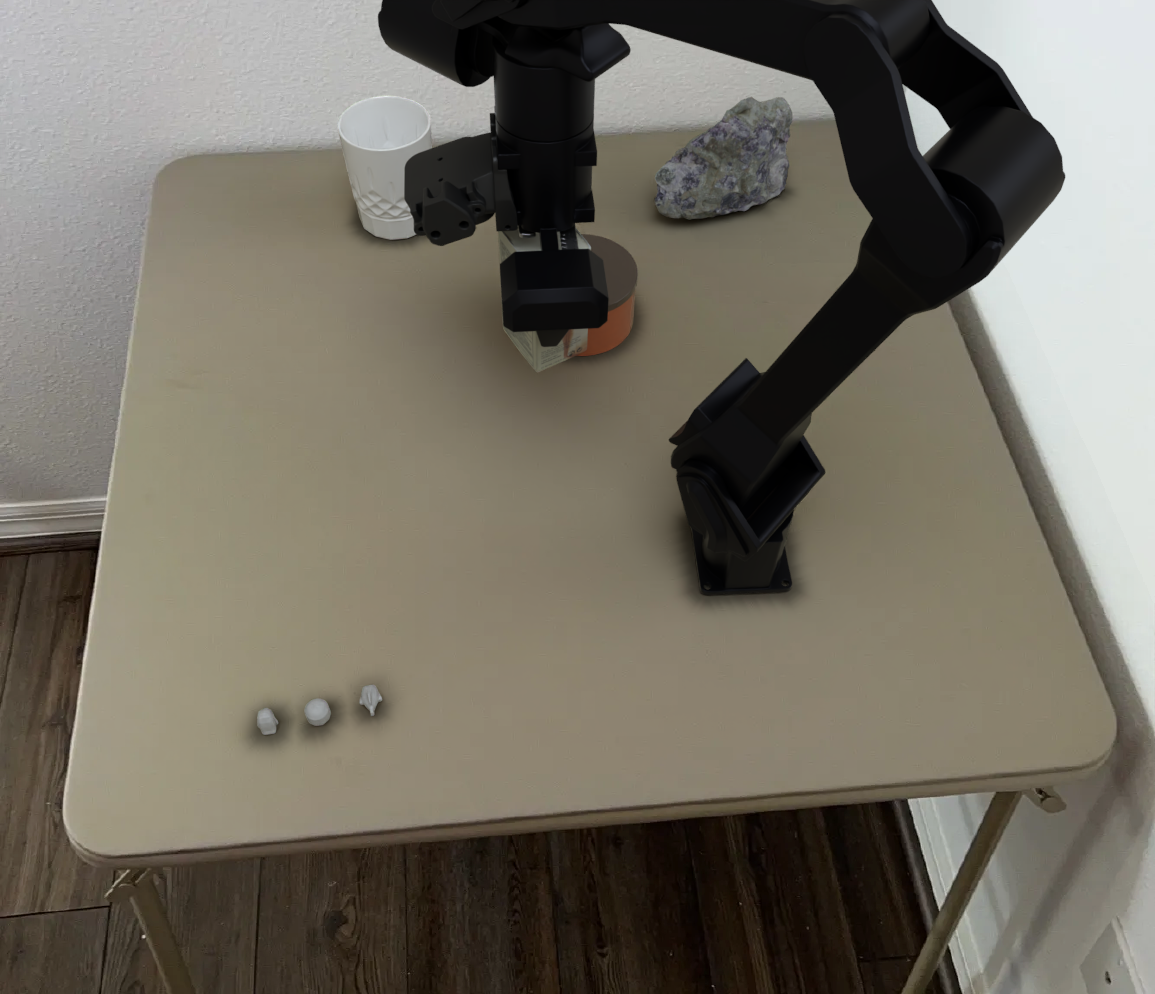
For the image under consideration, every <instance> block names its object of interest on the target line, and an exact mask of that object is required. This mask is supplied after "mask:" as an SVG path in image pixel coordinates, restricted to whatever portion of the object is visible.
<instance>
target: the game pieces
mask: <svg viewBox="0 0 1155 994" xmlns="http://www.w3.org/2000/svg"><path fill="white" fill-rule="evenodd" d="M382 701H383V697H382V696H381V694H380V692H379V689H378V687H377V686H376V684H368V685H364V686H362V689H361V693H360V697H359V700H358V703H359V705H360V706H365V708H366V709H367V710H368V711H369V714H370V716H371V717H374V716H375V714H376V713H375V710H376V708H377V705H378V703H380V702H382ZM331 715H332V711H331V709H330V706H329V704H328V702H327V701H326V700H325V699H324V698H318V697H316V698H313V699H311V700H309V701H308V702H307V703H306V704H305V706H304V716H305V717H306V720H307V722H308V723H309V724H310V725H312V726H314V727H318V726H324V725H325V724H326V723H328V721H329V720H330V719H331ZM277 725H279V721H278V719H277V718H276V717H275V714H274V712H273V710H272V709H271V708H268V707H262V709H259V711H258V712H257V718H256V726H257V728H259V729H260V732H261V733H262V735H264V736H267V735H268V736H269V735H273V734H275V733H277Z"/></svg>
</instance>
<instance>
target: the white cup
mask: <svg viewBox="0 0 1155 994" xmlns="http://www.w3.org/2000/svg"><path fill="white" fill-rule="evenodd" d="M431 118H432V117H431V115H430V113H429V111H428V109H427V108H426V107H425V106H424V105H422V104H421V103H419V102H417V101H416V100H413V99H411V98H408V97H404V96H401V95H400V96H399V95H388V94H387V95H376V96H370V97H366V98H363V99H361V100H358V101H356V102H354V103H352V104H350V105H349V106H348V107H346V108H345V109H344V110H343V111H342V113H340V115H339V117H338V119H337V123H336V124H337V125H336V127H337V133H338V138H339V141H340V146H341V150H342V154H343V159H344V163H345V164H344V165H345V168H346V173H347V175H348V180H349V183H350V184H349V185H350V187H351V191H352V196H353V200H354V201H355V203H356V209H357V213H358V217H359V219H360V222H361V225H362V227H363V229H364V230H365V231H367V232H368V233H370V234H371V235H373V236H374V237H377V238H381V239H386V240H390V241H392V240H393V241H394V240H404V239H409V238H412V237H414V236H418V235H417V234H416V233H415V232H414V219H413V217H412V215H411V213H410V208H409V206H408V205H407V203H406V201H405V199H404V169H405V164H406V162H407V161H408V160H409V159H410V158H411V157H412V156H414V155H415V154H417V153H420V152H423V151H426V150H428V149H431V148H433V137H432V134H433V133H432V119H431Z"/></svg>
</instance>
